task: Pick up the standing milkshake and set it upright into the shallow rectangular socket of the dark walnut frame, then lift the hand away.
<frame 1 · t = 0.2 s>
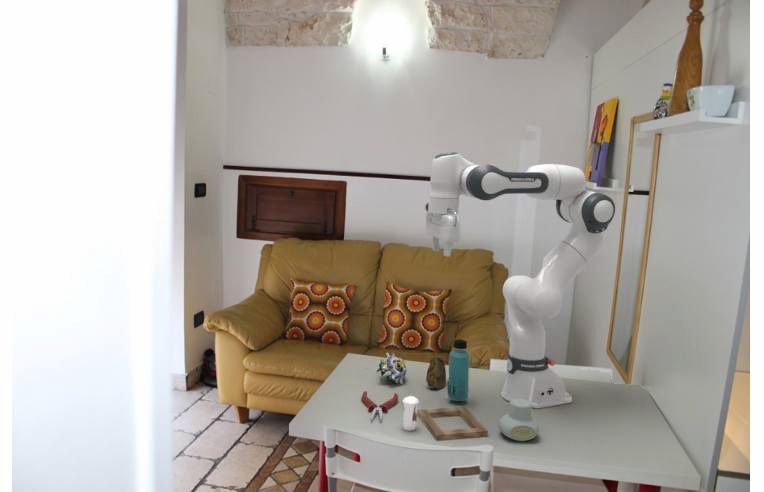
hand: (441, 253, 186), 47 cm above the table, tool pointing down, fingers open, 8 cm apart
pliers: (373, 409, 188), on the table
air freshener: (518, 437, 172), on the table
decorative stone: (436, 386, 208), on the table
beverage bottle: (457, 402, 195), on the table
socket block: (451, 425, 177), on the table
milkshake: (408, 429, 174), on the table
passion flower: (390, 381, 211), on the table
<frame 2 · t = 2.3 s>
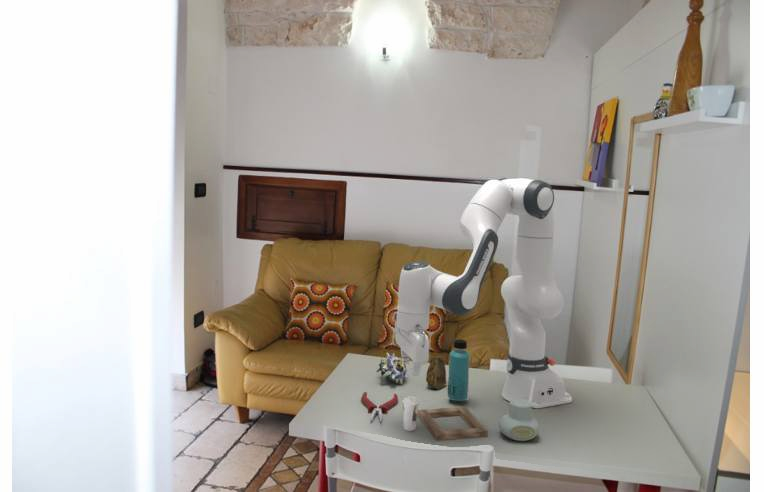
hand: (410, 369, 171), 17 cm above the table, tool pointing down, fingers open, 8 cm apart
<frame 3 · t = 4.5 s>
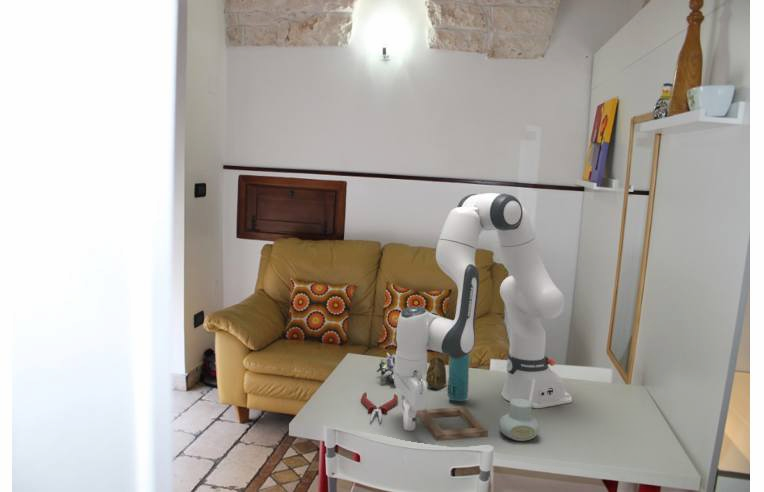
hand: (408, 412, 173), 5 cm above the table, tool pointing down, fingers closed on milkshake, 4 cm apart
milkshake: (408, 429, 174), on the table, touching gripper
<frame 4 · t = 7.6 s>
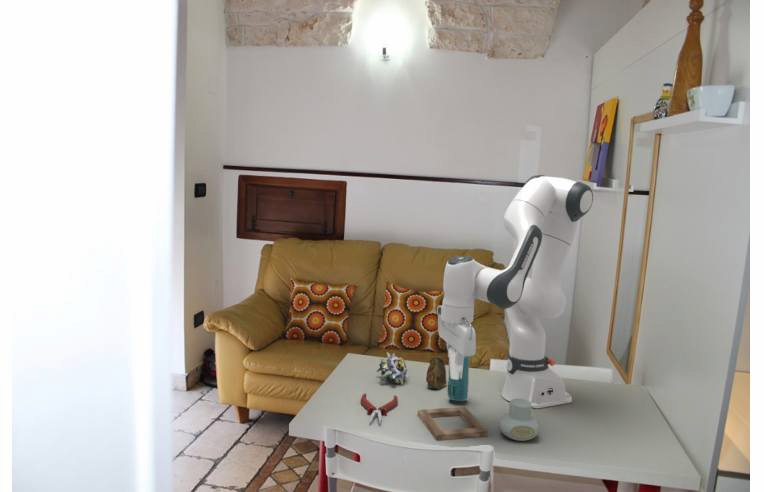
hand: (455, 361, 175), 19 cm above the table, tool pointing down, fingers closed on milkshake, 4 cm apart
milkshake: (454, 378, 175), point 14 cm above the table, touching gripper
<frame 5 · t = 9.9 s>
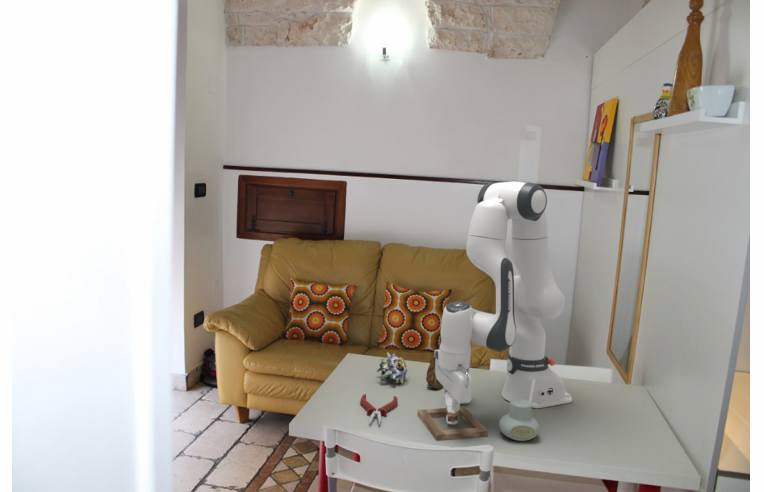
hand: (451, 406, 176), 6 cm above the table, tool pointing down, fingers closed on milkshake, 4 cm apart
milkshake: (450, 423, 177), point 1 cm above the table, touching gripper
when the fingers open (5 cm above the table, at t = 11.1 s): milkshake stays where it is, on the table.
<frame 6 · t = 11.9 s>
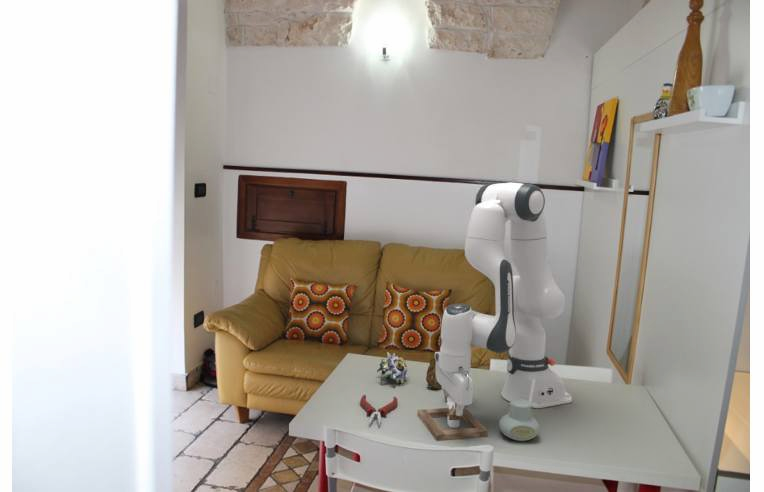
hand: (452, 408, 177), 5 cm above the table, tool pointing down, fingers open, 8 cm apart
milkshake: (451, 426, 177), on the table
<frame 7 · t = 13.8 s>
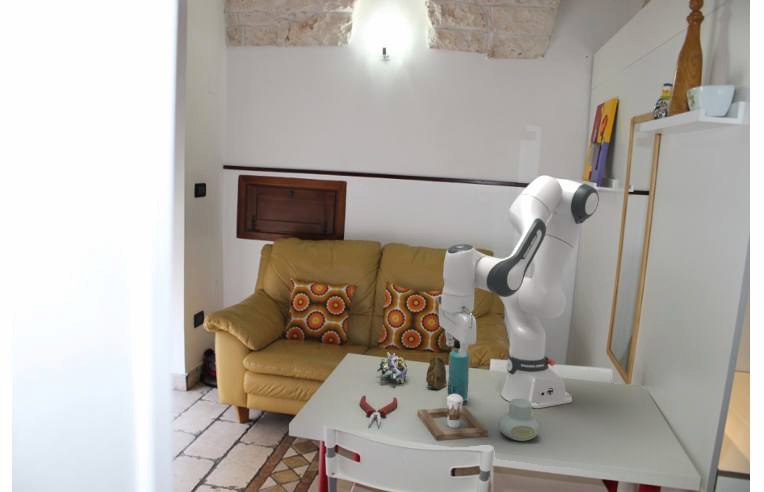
hand: (455, 350, 174), 22 cm above the table, tool pointing down, fingers open, 8 cm apart
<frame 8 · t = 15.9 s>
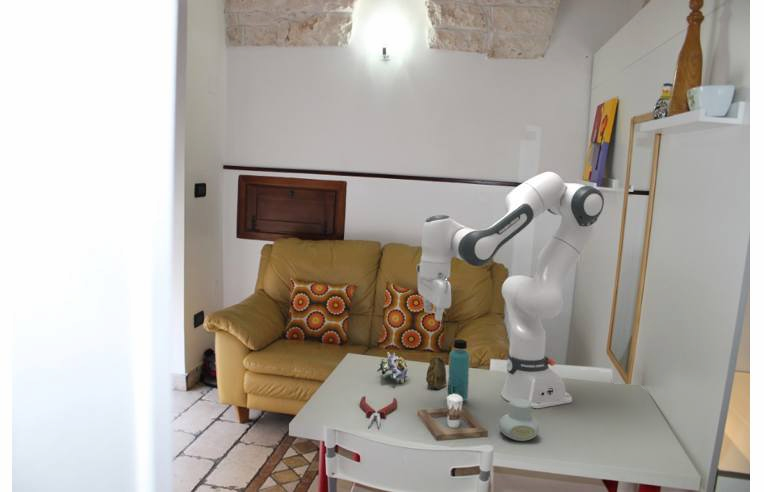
hand: (432, 316, 184), 29 cm above the table, tool pointing down, fingers open, 8 cm apart
at the end: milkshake 0.3 cm from the socket block (horizontally); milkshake tilted 0°; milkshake on the table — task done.
